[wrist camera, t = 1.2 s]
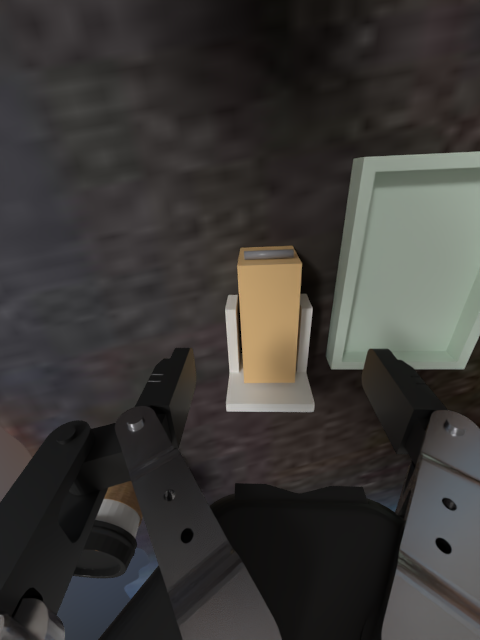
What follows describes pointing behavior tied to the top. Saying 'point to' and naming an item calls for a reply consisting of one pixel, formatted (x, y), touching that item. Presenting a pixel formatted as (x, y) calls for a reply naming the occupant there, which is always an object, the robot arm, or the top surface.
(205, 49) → the top surface
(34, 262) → the top surface
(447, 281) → the tray
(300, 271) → the box with top handle
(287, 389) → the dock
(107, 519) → the coffee cup
